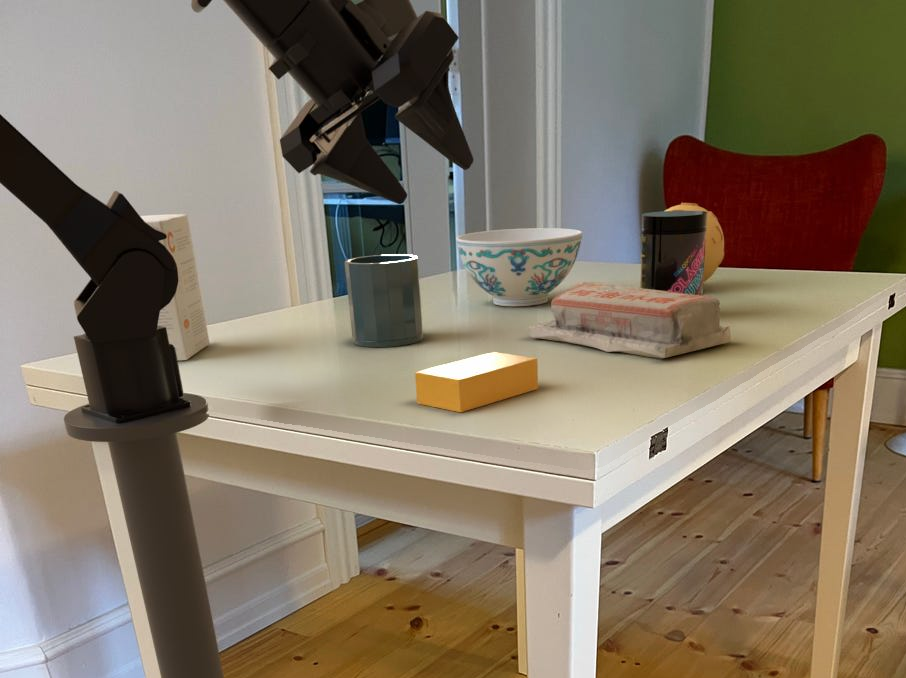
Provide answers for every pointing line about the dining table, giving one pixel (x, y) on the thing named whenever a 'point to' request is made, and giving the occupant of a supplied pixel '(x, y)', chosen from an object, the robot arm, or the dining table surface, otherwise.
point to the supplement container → (673, 251)
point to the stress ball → (708, 239)
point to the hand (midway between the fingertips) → (435, 183)
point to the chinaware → (519, 262)
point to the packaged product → (634, 320)
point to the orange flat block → (476, 381)
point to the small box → (182, 288)
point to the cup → (384, 300)
